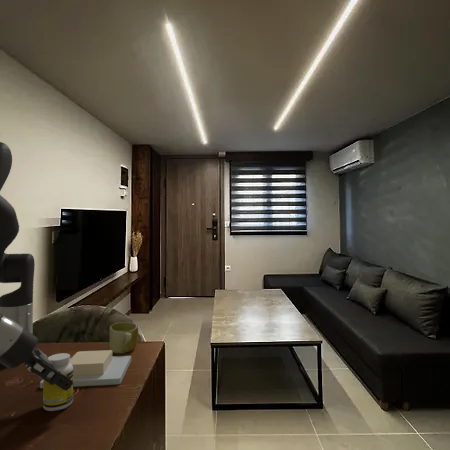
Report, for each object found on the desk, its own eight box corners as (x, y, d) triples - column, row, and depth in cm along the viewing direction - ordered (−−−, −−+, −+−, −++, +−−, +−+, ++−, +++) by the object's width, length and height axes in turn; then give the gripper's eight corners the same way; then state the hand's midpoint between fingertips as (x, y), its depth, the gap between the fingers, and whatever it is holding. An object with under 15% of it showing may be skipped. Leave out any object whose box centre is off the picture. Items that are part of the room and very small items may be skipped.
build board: (39, 388, 83) (40, 370, 83) (64, 363, 99) (64, 348, 99) (120, 384, 85) (120, 366, 85) (131, 360, 101) (131, 345, 101)
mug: (103, 340, 114) (112, 314, 114) (132, 346, 118) (141, 321, 117) (101, 360, 103) (111, 331, 102) (132, 365, 106) (143, 337, 106)
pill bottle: (72, 408, 73) (72, 359, 74) (40, 414, 71) (41, 363, 71) (73, 396, 79) (74, 350, 79) (45, 401, 77) (45, 353, 77)
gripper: (27, 333, 65) (86, 375, 72) (15, 319, 76) (68, 357, 83) (-5, 367, 62) (60, 407, 69) (-13, 348, 72) (44, 384, 80)
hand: (64, 379), depth 76 cm, fingers open, 8 cm apart
